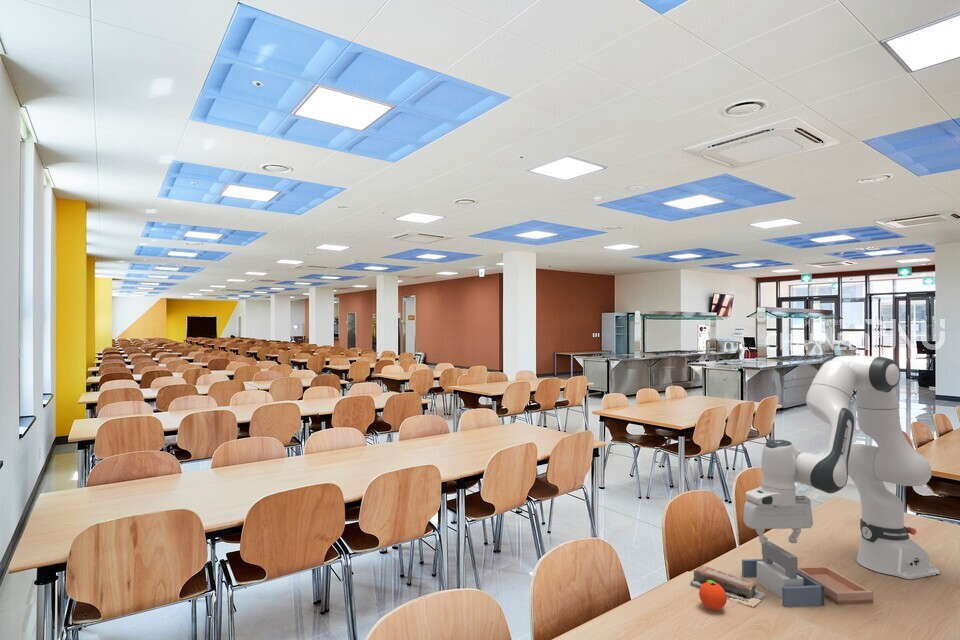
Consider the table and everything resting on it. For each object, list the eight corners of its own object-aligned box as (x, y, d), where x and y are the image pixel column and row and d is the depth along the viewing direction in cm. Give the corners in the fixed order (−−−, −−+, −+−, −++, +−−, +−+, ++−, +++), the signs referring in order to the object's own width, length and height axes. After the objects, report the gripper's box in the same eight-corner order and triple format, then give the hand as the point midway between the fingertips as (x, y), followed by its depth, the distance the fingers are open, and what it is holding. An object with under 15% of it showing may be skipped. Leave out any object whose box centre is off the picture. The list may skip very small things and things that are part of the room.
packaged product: (689, 570, 154) (703, 561, 161) (689, 586, 154) (703, 576, 161) (753, 592, 141) (766, 581, 148) (753, 610, 141) (766, 598, 148)
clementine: (693, 599, 145) (693, 574, 145) (718, 600, 145) (718, 574, 145) (705, 614, 137) (705, 587, 137) (731, 615, 137) (731, 588, 137)
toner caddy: (774, 580, 158) (774, 540, 159) (803, 599, 146) (803, 557, 147) (756, 581, 157) (756, 541, 158) (784, 600, 146) (783, 557, 146)
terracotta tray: (825, 575, 162) (825, 565, 162) (873, 602, 145) (872, 592, 145) (793, 576, 160) (793, 567, 161) (837, 604, 144) (837, 593, 144)
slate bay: (777, 574, 162) (777, 558, 162) (824, 605, 143) (824, 586, 143) (742, 575, 161) (741, 559, 161) (784, 607, 142) (784, 588, 142)
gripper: (802, 492, 157) (802, 538, 157) (740, 492, 155) (740, 539, 154) (818, 498, 151) (818, 546, 150) (753, 499, 149) (753, 547, 148)
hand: (778, 542), depth 152 cm, fingers open, 8 cm apart
